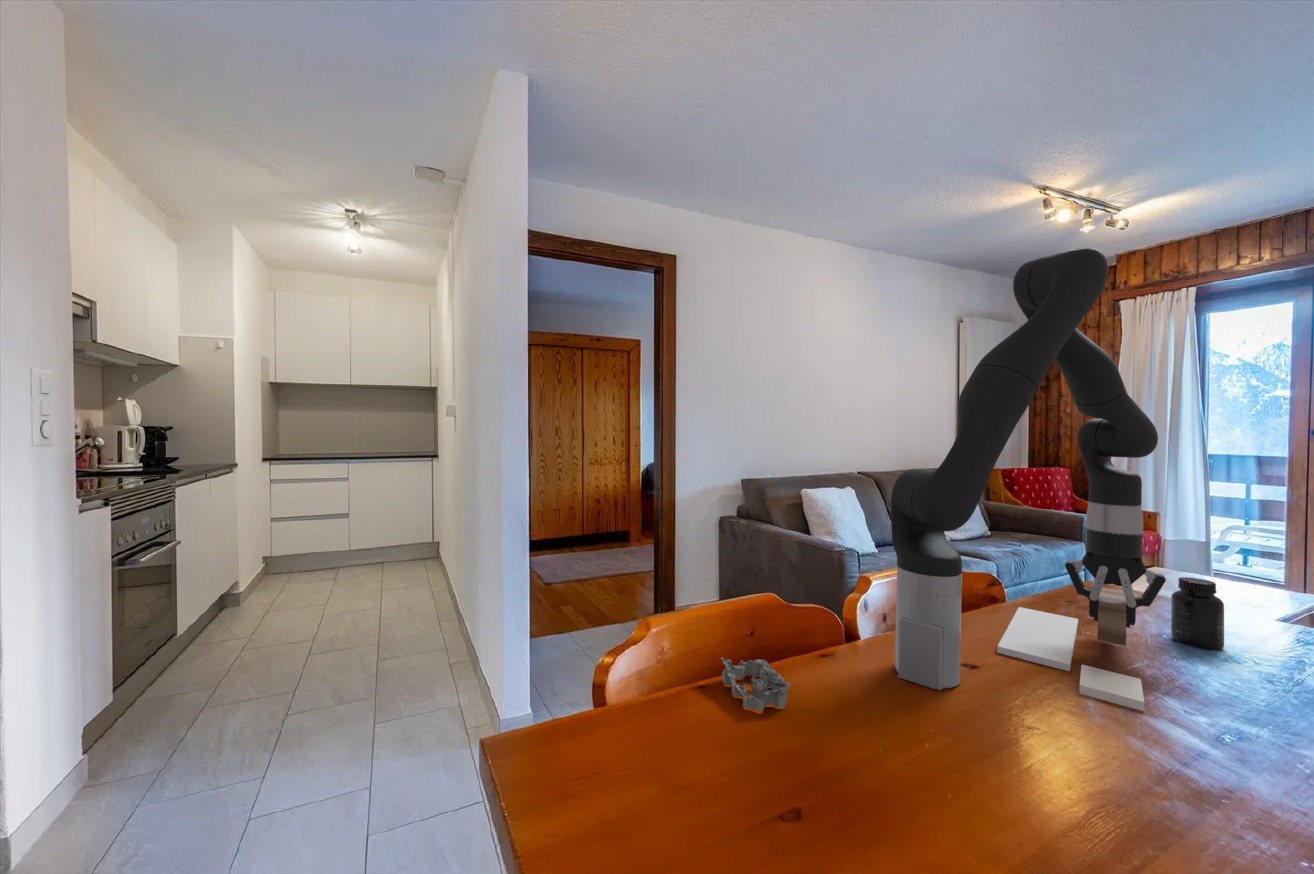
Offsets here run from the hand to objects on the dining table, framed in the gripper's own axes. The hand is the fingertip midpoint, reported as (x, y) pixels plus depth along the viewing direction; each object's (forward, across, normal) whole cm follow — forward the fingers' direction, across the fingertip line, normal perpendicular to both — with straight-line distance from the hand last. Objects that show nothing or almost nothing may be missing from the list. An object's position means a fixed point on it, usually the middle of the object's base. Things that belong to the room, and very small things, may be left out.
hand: (1111, 622), depth 89 cm
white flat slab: (+5, 0, -14) cm, 15 cm away
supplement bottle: (+6, +12, +17) cm, 22 cm away
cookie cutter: (+6, -39, -58) cm, 70 cm away
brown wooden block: (+1, 0, 0) cm, 1 cm away
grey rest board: (+5, -10, -1) cm, 11 cm away
